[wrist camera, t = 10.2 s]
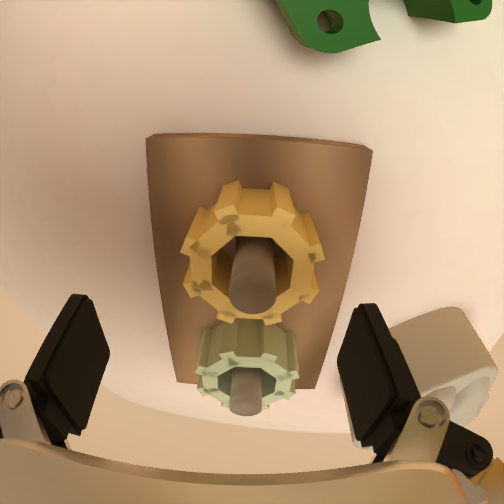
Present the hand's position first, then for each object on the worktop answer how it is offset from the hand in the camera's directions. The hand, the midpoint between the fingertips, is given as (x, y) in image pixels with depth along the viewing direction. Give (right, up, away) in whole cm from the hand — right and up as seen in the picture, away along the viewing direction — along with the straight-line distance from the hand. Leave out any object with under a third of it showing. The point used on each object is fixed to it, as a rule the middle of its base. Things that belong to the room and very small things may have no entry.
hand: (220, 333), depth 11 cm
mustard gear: (+1, +4, +7) cm, 8 cm away
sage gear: (+1, -4, +12) cm, 12 cm away
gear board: (+1, +1, +11) cm, 11 cm away
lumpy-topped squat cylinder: (+15, -7, +15) cm, 23 cm away
